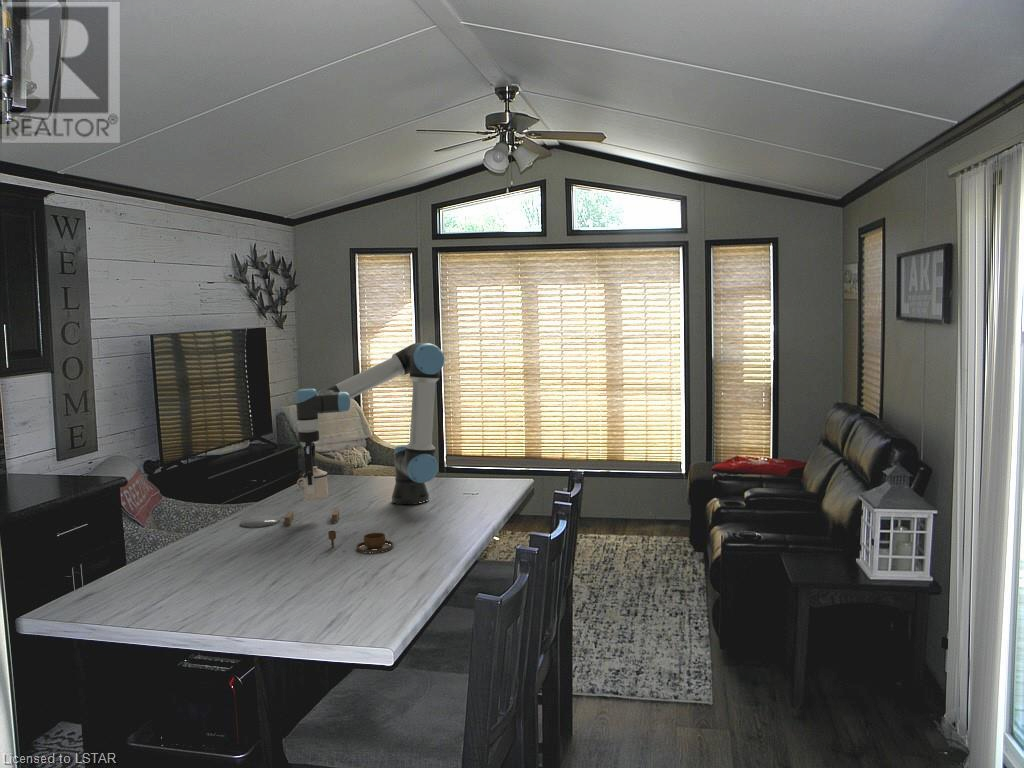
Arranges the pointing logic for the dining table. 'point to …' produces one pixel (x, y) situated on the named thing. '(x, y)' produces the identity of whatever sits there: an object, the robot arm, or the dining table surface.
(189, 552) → the dining table surface
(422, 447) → the robot arm
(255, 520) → the grey flat disc
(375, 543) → the place setting
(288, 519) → the walnut cradle
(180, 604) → the dining table surface
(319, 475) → the teacup with lid
